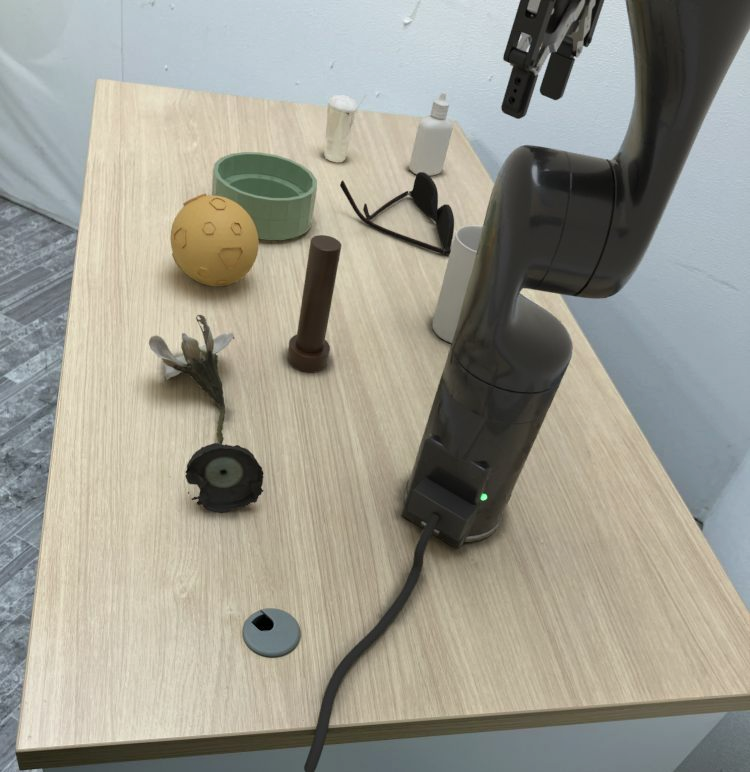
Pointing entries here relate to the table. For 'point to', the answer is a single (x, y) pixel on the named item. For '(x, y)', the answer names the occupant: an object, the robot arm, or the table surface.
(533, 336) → the robot arm
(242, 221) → the stress ball
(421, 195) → the sunglasses
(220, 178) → the bowl
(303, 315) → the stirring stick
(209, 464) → the artificial flower
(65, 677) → the table surface
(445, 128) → the eye dropper bottle
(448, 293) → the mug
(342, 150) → the milkshake
